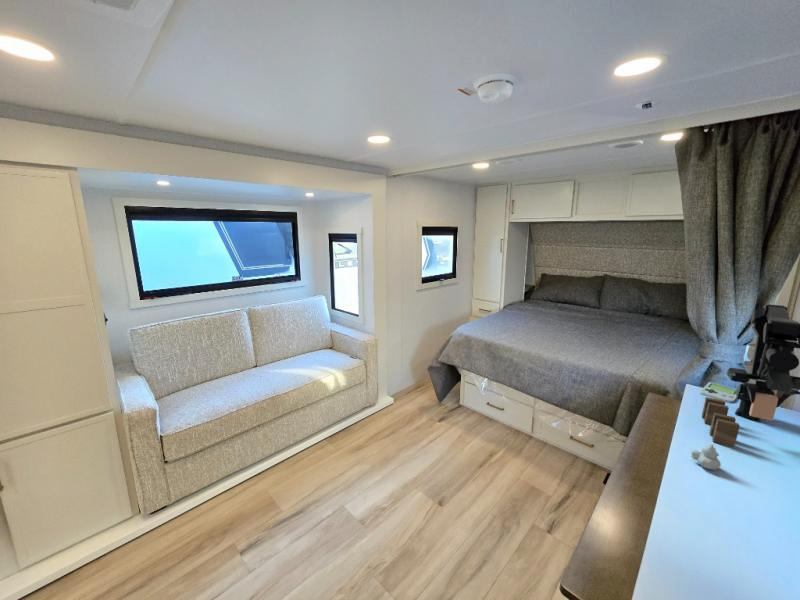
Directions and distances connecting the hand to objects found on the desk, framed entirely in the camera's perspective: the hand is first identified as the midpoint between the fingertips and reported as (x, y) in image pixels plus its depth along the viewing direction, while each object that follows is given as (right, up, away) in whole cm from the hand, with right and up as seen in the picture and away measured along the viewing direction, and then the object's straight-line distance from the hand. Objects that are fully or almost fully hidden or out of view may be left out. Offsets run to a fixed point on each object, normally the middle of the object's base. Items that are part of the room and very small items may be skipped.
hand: (763, 404), depth 105 cm
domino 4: (-12, -13, +1) cm, 18 cm away
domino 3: (-10, -12, +5) cm, 16 cm away
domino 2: (-5, -11, +11) cm, 17 cm away
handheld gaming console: (+18, -6, +33) cm, 38 cm away
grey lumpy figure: (-27, -16, -8) cm, 32 cm away
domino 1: (-3, -10, +14) cm, 18 cm away
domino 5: (0, -4, +1) cm, 5 cm away
